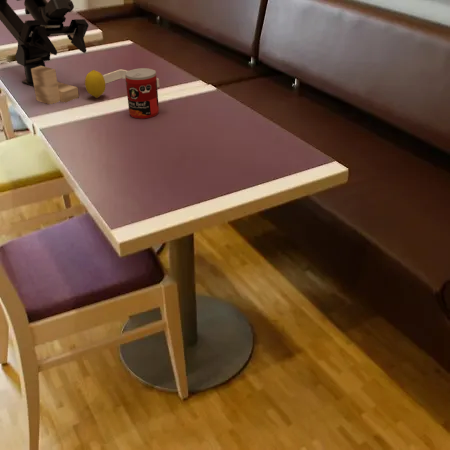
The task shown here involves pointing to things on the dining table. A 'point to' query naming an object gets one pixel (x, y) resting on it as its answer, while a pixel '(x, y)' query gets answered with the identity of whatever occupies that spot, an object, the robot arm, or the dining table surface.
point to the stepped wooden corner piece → (51, 86)
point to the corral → (118, 76)
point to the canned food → (142, 93)
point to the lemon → (95, 83)
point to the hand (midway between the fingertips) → (71, 52)
